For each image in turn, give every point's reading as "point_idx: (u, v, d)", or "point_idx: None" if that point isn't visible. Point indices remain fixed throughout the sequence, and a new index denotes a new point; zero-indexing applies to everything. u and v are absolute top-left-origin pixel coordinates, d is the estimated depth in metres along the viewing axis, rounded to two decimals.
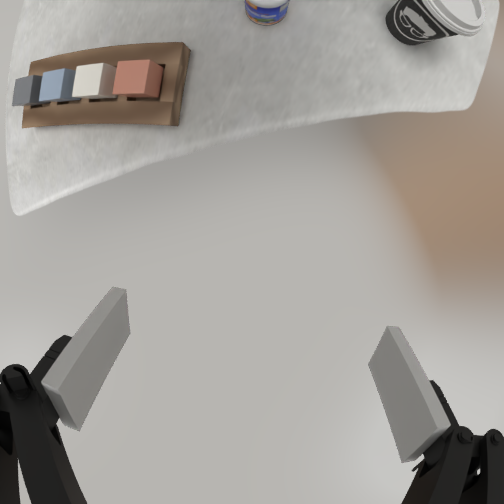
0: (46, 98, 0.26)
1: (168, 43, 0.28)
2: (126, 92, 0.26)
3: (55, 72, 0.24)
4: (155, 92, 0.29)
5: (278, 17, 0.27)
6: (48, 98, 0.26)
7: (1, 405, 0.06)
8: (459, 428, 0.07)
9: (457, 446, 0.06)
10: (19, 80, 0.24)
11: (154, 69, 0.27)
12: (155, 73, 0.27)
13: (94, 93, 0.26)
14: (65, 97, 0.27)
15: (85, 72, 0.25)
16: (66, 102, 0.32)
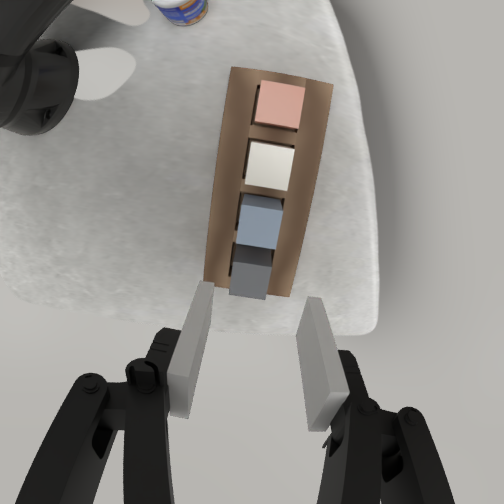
0: (276, 235, 0.29)
1: (230, 82, 0.27)
2: (300, 109, 0.24)
3: (242, 220, 0.28)
4: None
5: None
6: (277, 231, 0.29)
7: (116, 404, 0.08)
8: (357, 399, 0.09)
9: (360, 420, 0.08)
10: (232, 287, 0.31)
11: None
12: None
13: (291, 154, 0.26)
14: (280, 207, 0.29)
15: (258, 169, 0.26)
16: None
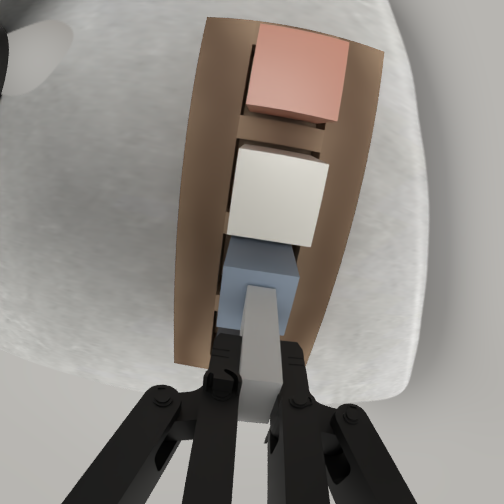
0: (285, 315, 0.16)
1: (204, 43, 0.14)
2: (340, 83, 0.11)
3: (226, 292, 0.16)
4: None
5: None
6: (287, 310, 0.16)
7: (190, 414, 0.08)
8: (289, 392, 0.09)
9: (294, 415, 0.08)
10: None
11: None
12: None
13: (322, 175, 0.12)
14: (294, 266, 0.16)
15: (253, 204, 0.13)
16: None
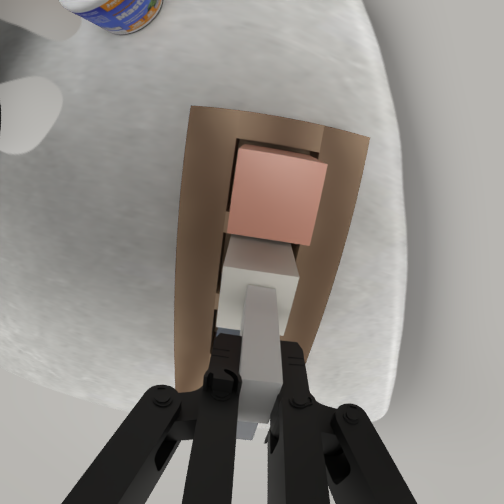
0: None
1: (189, 136, 0.16)
2: (315, 209, 0.13)
3: None
4: (305, 155, 0.16)
5: None
6: None
7: (190, 414, 0.08)
8: (289, 392, 0.09)
9: (294, 415, 0.08)
10: None
11: (257, 148, 0.14)
12: (265, 149, 0.15)
13: (293, 285, 0.15)
14: None
15: (236, 307, 0.16)
16: None
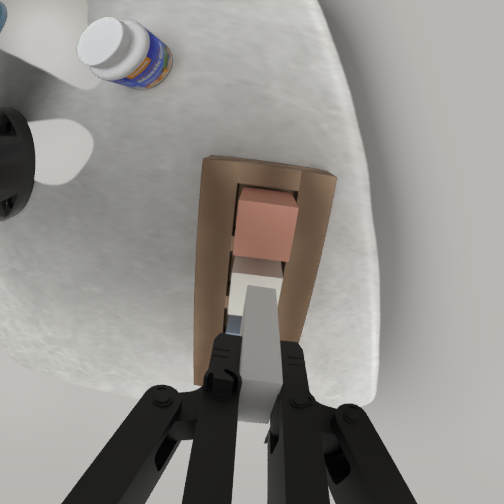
0: None
1: (202, 181, 0.23)
2: (291, 238, 0.20)
3: None
4: (286, 195, 0.22)
5: (160, 41, 0.20)
6: None
7: (190, 414, 0.08)
8: (288, 392, 0.09)
9: (294, 415, 0.08)
10: None
11: (252, 195, 0.21)
12: (257, 194, 0.21)
13: (279, 284, 0.23)
14: None
15: (241, 300, 0.24)
16: None
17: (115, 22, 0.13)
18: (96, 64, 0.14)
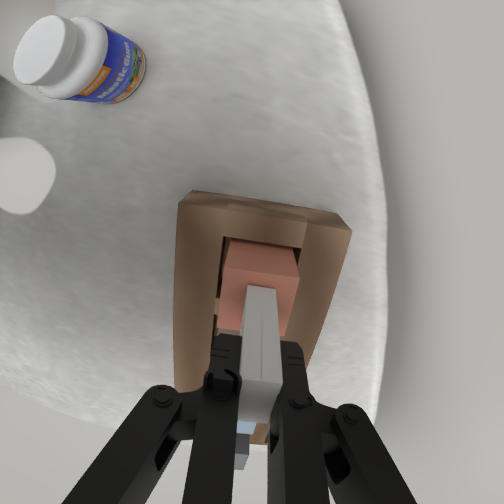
0: (252, 426, 0.21)
1: (178, 232, 0.18)
2: (288, 311, 0.16)
3: None
4: (285, 250, 0.18)
5: (130, 42, 0.15)
6: (253, 423, 0.21)
7: (190, 414, 0.08)
8: (288, 392, 0.09)
9: (293, 415, 0.08)
10: None
11: (241, 254, 0.17)
12: (249, 251, 0.17)
13: None
14: None
15: None
16: None
17: (57, 22, 0.08)
18: (32, 82, 0.09)
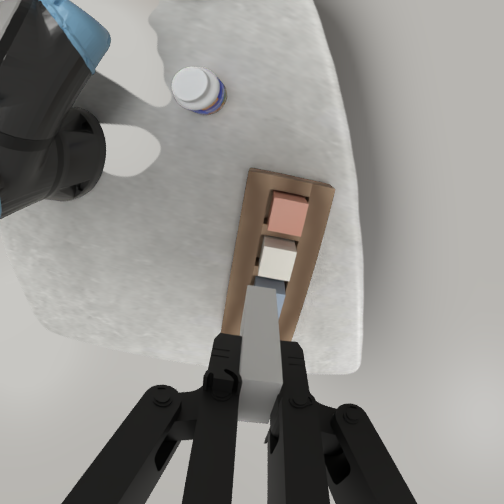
0: (279, 310, 0.38)
1: (247, 185, 0.36)
2: (303, 222, 0.33)
3: None
4: (301, 197, 0.36)
5: (221, 82, 0.32)
6: (280, 308, 0.38)
7: (190, 414, 0.08)
8: (288, 392, 0.09)
9: (294, 415, 0.08)
10: None
11: (280, 195, 0.34)
12: (283, 195, 0.35)
13: (294, 256, 0.35)
14: (283, 290, 0.38)
15: (268, 265, 0.36)
16: None
17: (201, 73, 0.26)
18: (187, 100, 0.27)
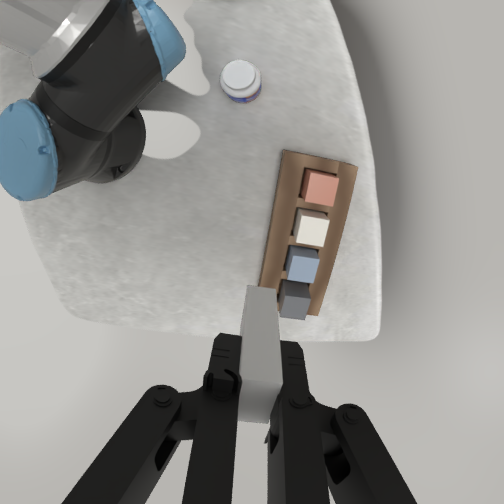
0: (314, 274, 0.43)
1: (283, 164, 0.40)
2: (334, 193, 0.38)
3: (293, 265, 0.42)
4: (329, 174, 0.40)
5: None
6: (315, 272, 0.43)
7: (190, 414, 0.08)
8: (288, 392, 0.09)
9: (293, 415, 0.08)
10: (283, 312, 0.44)
11: (314, 171, 0.39)
12: (316, 171, 0.39)
13: (327, 223, 0.40)
14: (317, 256, 0.43)
15: (305, 233, 0.40)
16: None
17: (249, 65, 0.30)
18: (237, 88, 0.31)
